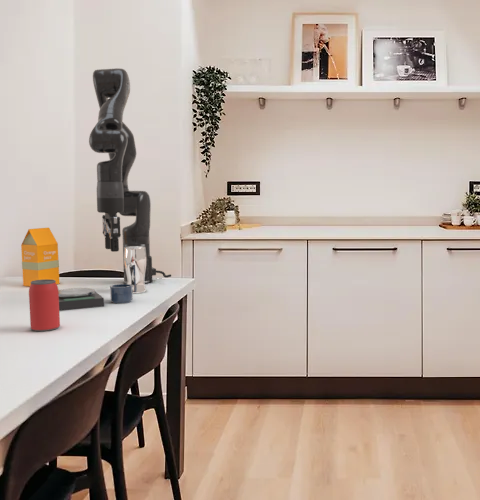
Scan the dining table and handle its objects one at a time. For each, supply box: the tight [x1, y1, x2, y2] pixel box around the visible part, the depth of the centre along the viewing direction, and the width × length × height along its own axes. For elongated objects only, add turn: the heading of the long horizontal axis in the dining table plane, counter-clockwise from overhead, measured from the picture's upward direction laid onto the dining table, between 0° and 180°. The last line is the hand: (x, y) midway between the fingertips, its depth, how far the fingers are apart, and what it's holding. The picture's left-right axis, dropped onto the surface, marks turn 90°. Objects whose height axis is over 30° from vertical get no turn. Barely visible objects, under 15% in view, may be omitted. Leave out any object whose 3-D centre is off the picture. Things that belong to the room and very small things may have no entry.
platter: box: [58, 287, 96, 297], centre depth 183 cm, size 11×11×1 cm
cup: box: [109, 283, 134, 305], centre depth 187 cm, size 6×6×5 cm
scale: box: [59, 291, 105, 312], centre depth 183 cm, size 13×15×3 cm
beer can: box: [28, 279, 61, 332], centre depth 152 cm, size 7×7×12 cm
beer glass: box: [124, 246, 147, 294], centre depth 203 cm, size 7×7×15 cm
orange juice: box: [20, 227, 61, 287], centre depth 215 cm, size 8×9×20 cm
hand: (111, 250), depth 186 cm, fingers open, 8 cm apart
